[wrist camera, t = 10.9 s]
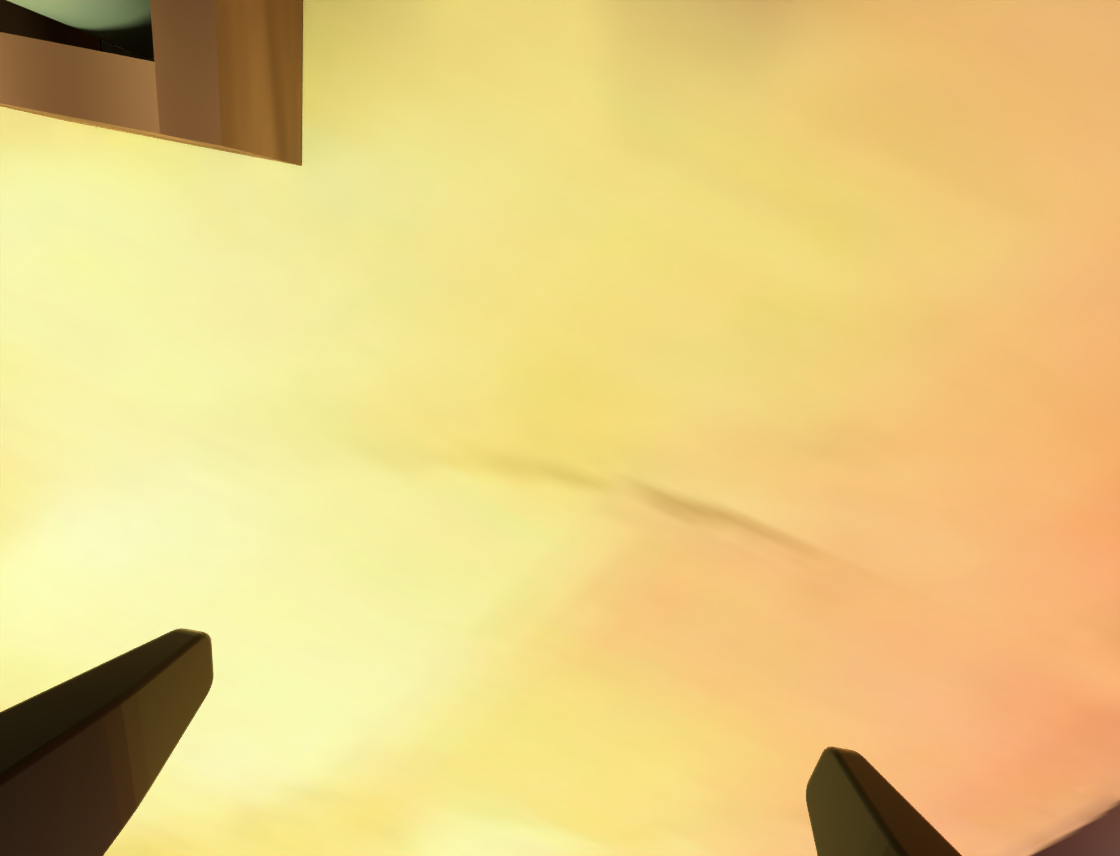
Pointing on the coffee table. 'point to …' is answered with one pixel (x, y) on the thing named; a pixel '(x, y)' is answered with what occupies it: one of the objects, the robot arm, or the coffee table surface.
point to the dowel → (103, 20)
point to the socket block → (169, 75)
